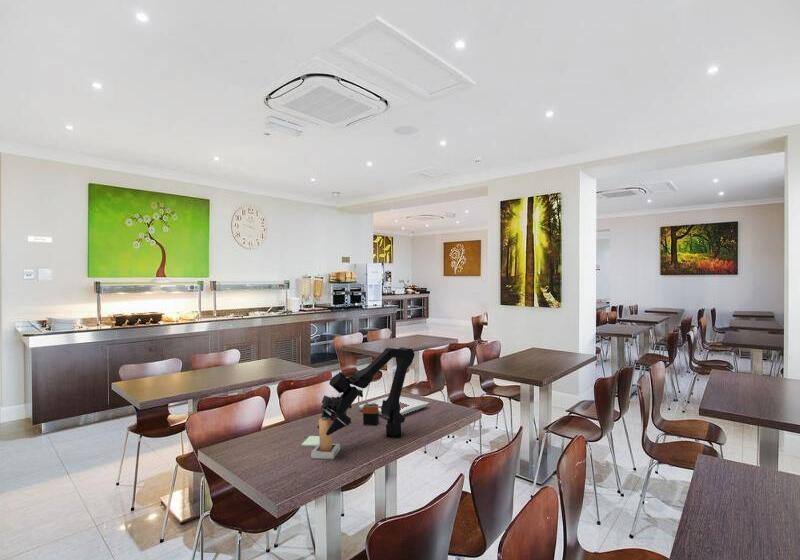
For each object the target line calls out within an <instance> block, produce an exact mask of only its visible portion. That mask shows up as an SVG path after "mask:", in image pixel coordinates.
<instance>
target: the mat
mask: <svg viewBox="0 0 800 560" xmlns="http://www.w3.org/2000/svg"><path fill="white" fill-rule="evenodd" d="M319 443H320V438H319V435H309V436H308V437H307V438H306V439H305V440H304V441H303V442H302V443H301V447H316V446H317V445H318V444H319Z"/></svg>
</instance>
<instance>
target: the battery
mask: <svg viewBox="0 0 800 560" xmlns="http://www.w3.org/2000/svg"><path fill="white" fill-rule="evenodd" d="M364 404H365V403H364ZM362 416H363V417H362V420H363V425H364V426H378V424H379V423H380V414H379V409H378V404H376V403H372V404H369V403H368V402H366V404H365V405H364V406H363V409H362Z"/></svg>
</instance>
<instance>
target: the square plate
mask: <svg viewBox="0 0 800 560" xmlns="http://www.w3.org/2000/svg"><path fill="white" fill-rule="evenodd" d="M388 397H389V396H386V397H382V398H378V399H375V400H371V401H368V402H366V403H369V404H372V403H376V404H378V407H379V406H382V402H383V400H385V401H386V400H387V399H388ZM399 402H401V403H404V404H407V405H409V406H407V407H404V408H403V409H402V408H401V410H400V413H401V414H402V415H403V416H405V415H407V413H408V414H410V413H409V412H411V413H413V412H412V411H414V412H416V411H418V410H420V409H423V408H425V407H426V406H427V405H428V404H429V401H423V400H419V399H415V398H411V397H405V396H401V395H400V399H399ZM366 403H363V404H360V405H358V407H359V408H360V409H361V410H363V406H364V405H365V404H366ZM378 409H379V416H383V415H382V413H381V409H380V408H378ZM415 410H416V411H415ZM404 414H405V415H404Z"/></svg>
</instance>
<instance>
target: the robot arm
mask: <svg viewBox="0 0 800 560" xmlns="http://www.w3.org/2000/svg"><path fill="white" fill-rule="evenodd" d="M415 355H416V354H415V351H414V350H413V349H412V348H409V347H403V346H402V347H398V348H394V347H386V348H384V350H383V352H381V353H380V354H379V355H378V356H377V357H376V358H375V359H374V360H373V361H371V363H369V364H368V365H367V366H366V367H364V368H362V369H360V370H358V371H357V372H355V373H354V374H353V375H352V376H349V377H347V376H346V375H345V374H344V373H343V372H341V371H339V372H338V373H337V374H335V375H333V376H332V377H331V379H330V380H329V385H330V386H331V388H333V389H334V390H335V391H336V392H337V393H339V394H341V395H340V396H335V397H334V396H328V395H323V397H322V400H321V404H322V405H321V406H320V408H321V409H320V410H321V417H320V419H321V418H323V417H328V418H331V420H332V419H333V421H332V422H331V426H330V428H329V429H328V431H327V433H326V435H330V434H331V435H332V434H333V433H335V432H337V431H339V430H341V429H343V428H344V427H345V428H346V427H349V426H350V424H352V419H351V418H350V417H349V416H348V415H347V413H346V414H345V412H346V411H347V412H348V410H349V409H350V410H351V409H352V408H353V406H352V405H353V403H354V402H355V400H356V399H357V398H358V397H361V398H363V397H364V394H363V390H362V389H367V388H368V386H369V385H370V384H371V383H372V381H373V379H374V377H375V375H376V374H377V373H378V372H380V370H381V369H382V368H384V366H385V365H386V364H387V363H388V362H389V361H391V360H392V358H395V363H396V368H395V370H394V375H393V376H394V377H393V380H392V382H391V383H392V384H391V387H390V391H389V395H388V396H387V397H388V399H387V400H386V401H385V400H383V402H382V407H381V408H380V409H381V413H382V415H381V416H382V417H384V420H385V421H386V424H385V434H386V437H387V438H402V436H403V433H404V431H403V423H405V419H406V417H405V415H402V414H401V413H400V402H399V399H400V396H401V394H402V390H403V387H404V383H405V379H406V374H407V371H408V368H409V367H410V366H411V365H412V364H413V361H414V358H415ZM359 388H360V389H359ZM332 416H333V417H332ZM334 416H336V417H337V418H336V417H334ZM317 429H318V430H319V424H317Z"/></svg>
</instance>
